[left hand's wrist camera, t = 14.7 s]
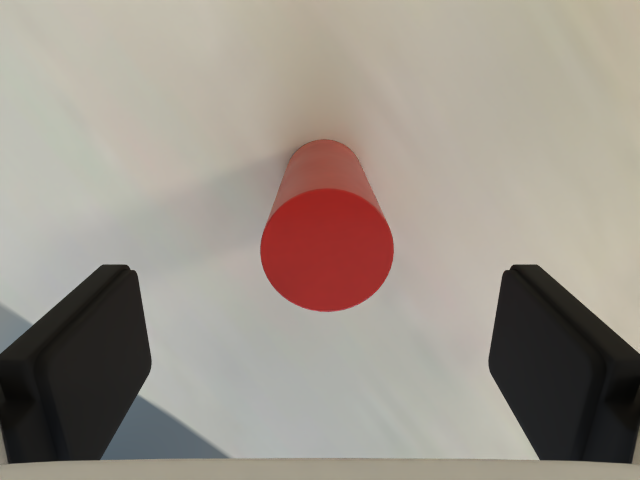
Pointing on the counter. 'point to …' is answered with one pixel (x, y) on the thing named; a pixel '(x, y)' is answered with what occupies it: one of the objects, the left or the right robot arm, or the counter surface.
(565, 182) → the counter surface
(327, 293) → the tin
